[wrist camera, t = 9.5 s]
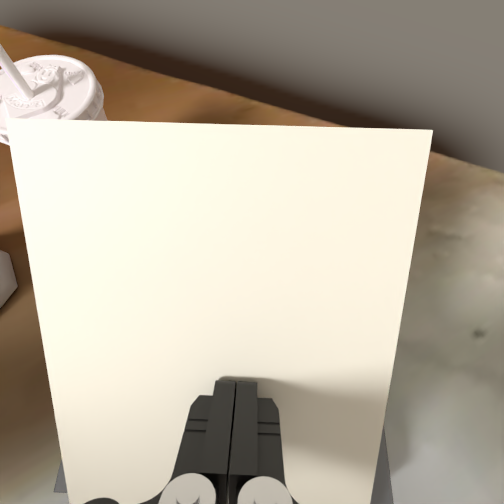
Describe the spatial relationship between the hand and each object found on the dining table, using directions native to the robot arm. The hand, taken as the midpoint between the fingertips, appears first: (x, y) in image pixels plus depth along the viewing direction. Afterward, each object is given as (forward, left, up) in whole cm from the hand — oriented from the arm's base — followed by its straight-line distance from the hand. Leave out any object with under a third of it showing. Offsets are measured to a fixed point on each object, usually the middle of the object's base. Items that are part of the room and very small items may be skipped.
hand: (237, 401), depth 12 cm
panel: (-2, -4, -5) cm, 7 cm away
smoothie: (-8, +17, -9) cm, 21 cm away
